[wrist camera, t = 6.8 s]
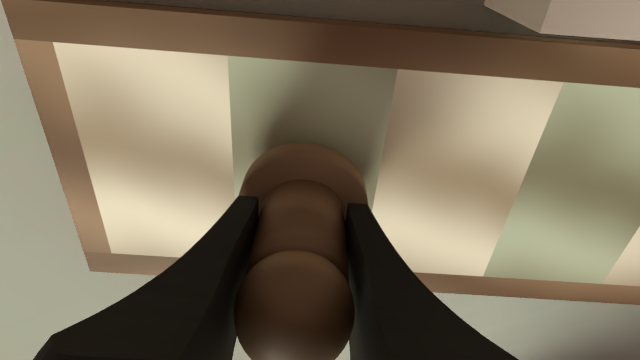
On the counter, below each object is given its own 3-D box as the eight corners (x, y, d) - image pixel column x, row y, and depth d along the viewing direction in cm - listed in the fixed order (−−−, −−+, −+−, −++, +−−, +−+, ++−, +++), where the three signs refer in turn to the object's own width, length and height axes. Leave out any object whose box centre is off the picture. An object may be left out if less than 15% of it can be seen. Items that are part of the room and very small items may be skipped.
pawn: (358, 247, 15) (374, 422, 10) (243, 240, 15) (198, 413, 10) (375, 147, 13) (409, 304, 8) (239, 137, 13) (176, 290, 7)
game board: (713, 297, 20) (727, 310, 19) (98, 258, 19) (90, 271, 18) (918, 67, 13) (949, 75, 13) (17, -7, 13) (0, -3, 12)
